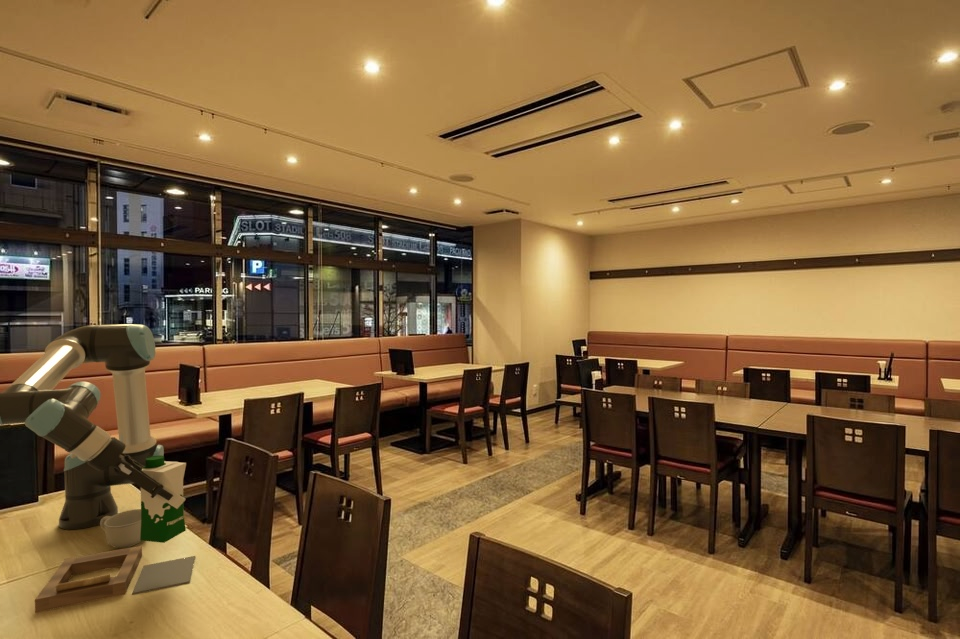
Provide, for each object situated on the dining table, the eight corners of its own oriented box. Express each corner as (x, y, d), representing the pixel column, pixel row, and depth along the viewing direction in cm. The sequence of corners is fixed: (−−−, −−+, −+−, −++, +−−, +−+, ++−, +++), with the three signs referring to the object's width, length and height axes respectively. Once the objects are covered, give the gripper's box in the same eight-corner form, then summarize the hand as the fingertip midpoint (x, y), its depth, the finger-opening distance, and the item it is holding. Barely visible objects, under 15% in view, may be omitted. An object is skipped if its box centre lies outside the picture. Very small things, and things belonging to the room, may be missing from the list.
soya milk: (162, 526, 132) (161, 452, 132) (192, 529, 130) (190, 454, 130) (133, 541, 124) (131, 462, 123) (164, 545, 122) (163, 464, 121)
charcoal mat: (143, 566, 132) (143, 565, 132) (195, 557, 137) (195, 555, 137) (132, 594, 119) (132, 592, 119) (189, 582, 124) (189, 581, 124)
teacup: (158, 538, 149) (157, 511, 149) (122, 555, 139) (121, 526, 138) (125, 531, 153) (124, 505, 153) (87, 547, 143) (87, 520, 143)
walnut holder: (65, 570, 131) (64, 553, 131) (142, 556, 138) (141, 539, 138) (35, 612, 113) (34, 592, 112) (125, 594, 120) (125, 575, 120)
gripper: (82, 452, 125) (158, 499, 136) (87, 474, 108) (173, 524, 119) (108, 428, 128) (180, 475, 139) (117, 445, 112) (198, 497, 122)
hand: (177, 498), depth 129 cm, fingers closed on soya milk, 9 cm apart
